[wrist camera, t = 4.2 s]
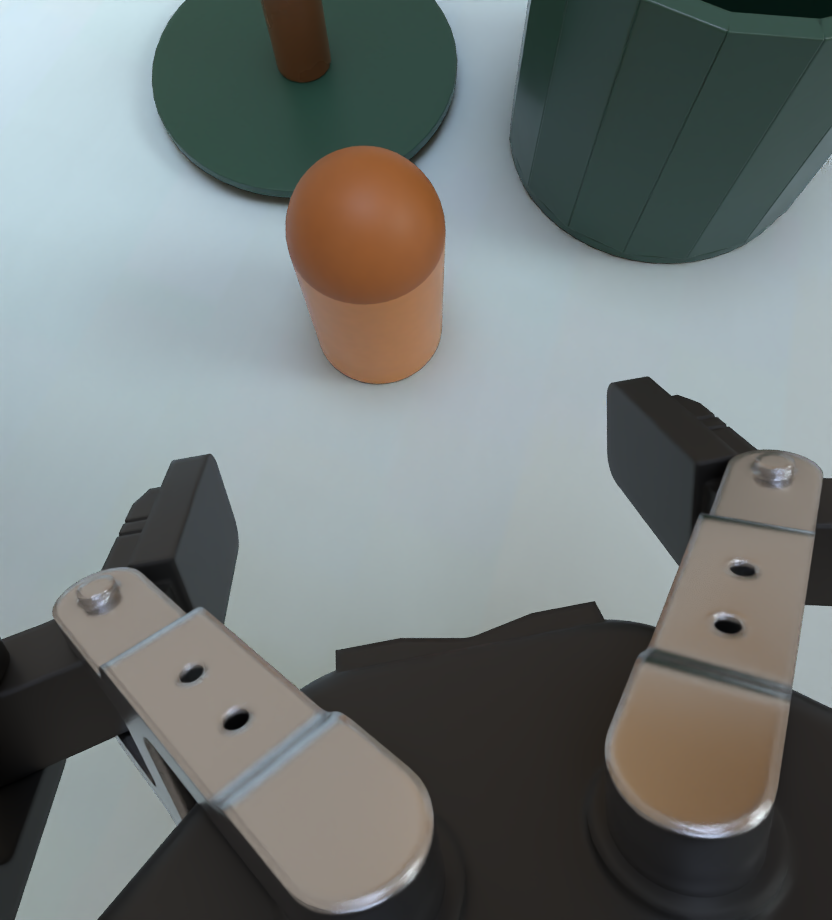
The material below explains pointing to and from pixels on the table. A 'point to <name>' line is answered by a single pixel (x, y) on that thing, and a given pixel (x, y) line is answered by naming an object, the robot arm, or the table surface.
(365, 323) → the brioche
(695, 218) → the pot
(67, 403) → the table surface
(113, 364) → the table surface
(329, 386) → the table surface
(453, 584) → the table surface
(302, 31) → the lid
